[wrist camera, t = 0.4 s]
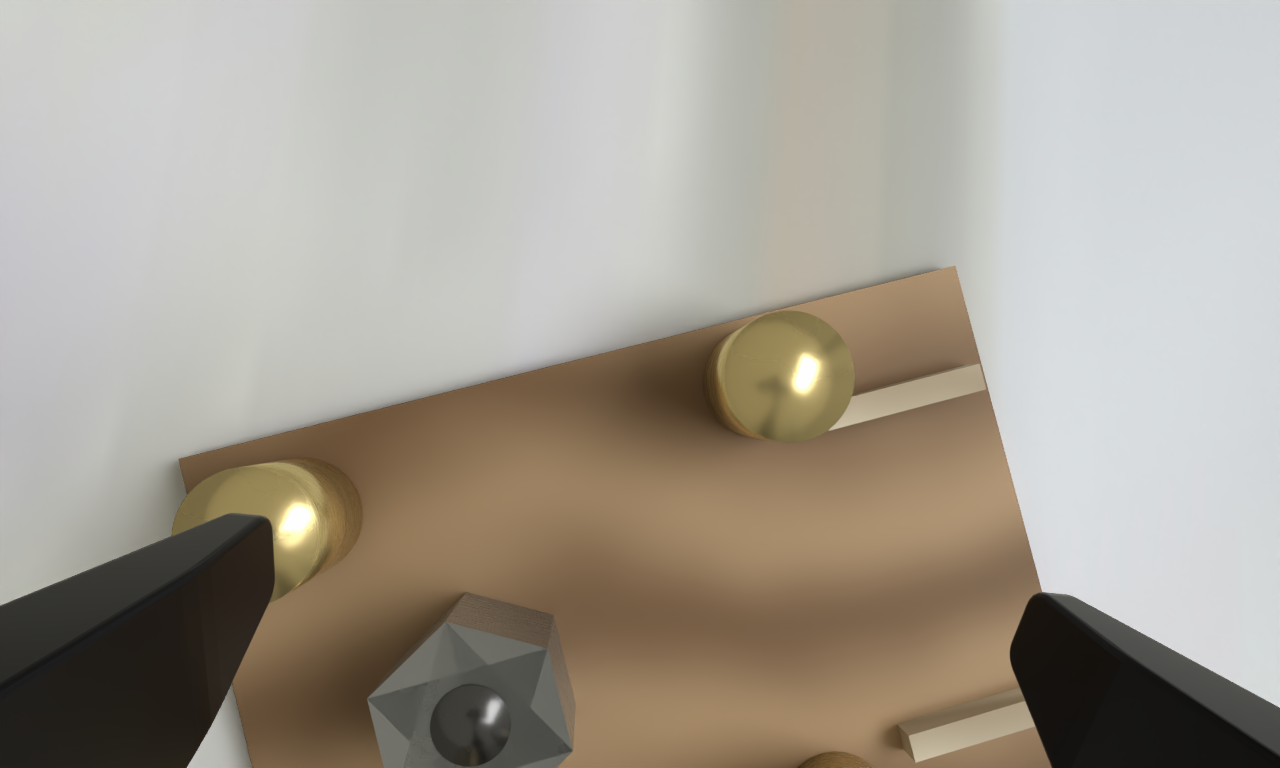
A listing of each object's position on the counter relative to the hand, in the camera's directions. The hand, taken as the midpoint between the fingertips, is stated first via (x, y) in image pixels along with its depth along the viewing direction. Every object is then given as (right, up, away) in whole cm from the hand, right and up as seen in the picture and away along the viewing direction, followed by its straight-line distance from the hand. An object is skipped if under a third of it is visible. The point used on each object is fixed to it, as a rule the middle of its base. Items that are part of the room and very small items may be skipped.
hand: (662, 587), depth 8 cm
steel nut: (-5, -6, +12) cm, 15 cm away
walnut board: (0, -5, +13) cm, 14 cm away
